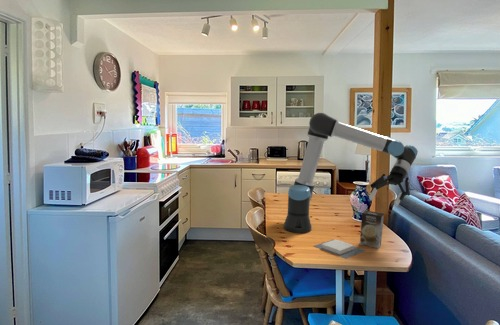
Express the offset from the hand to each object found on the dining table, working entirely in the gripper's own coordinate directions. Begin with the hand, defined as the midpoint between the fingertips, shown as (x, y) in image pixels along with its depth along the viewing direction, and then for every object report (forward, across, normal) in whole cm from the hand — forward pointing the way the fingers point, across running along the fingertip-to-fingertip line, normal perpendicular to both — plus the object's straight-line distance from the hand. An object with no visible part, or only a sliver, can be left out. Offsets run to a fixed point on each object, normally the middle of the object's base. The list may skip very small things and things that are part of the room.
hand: (382, 201), depth 167 cm
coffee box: (+22, -1, -7) cm, 23 cm away
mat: (+34, +5, +5) cm, 34 cm away
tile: (+30, +5, +3) cm, 30 cm away
